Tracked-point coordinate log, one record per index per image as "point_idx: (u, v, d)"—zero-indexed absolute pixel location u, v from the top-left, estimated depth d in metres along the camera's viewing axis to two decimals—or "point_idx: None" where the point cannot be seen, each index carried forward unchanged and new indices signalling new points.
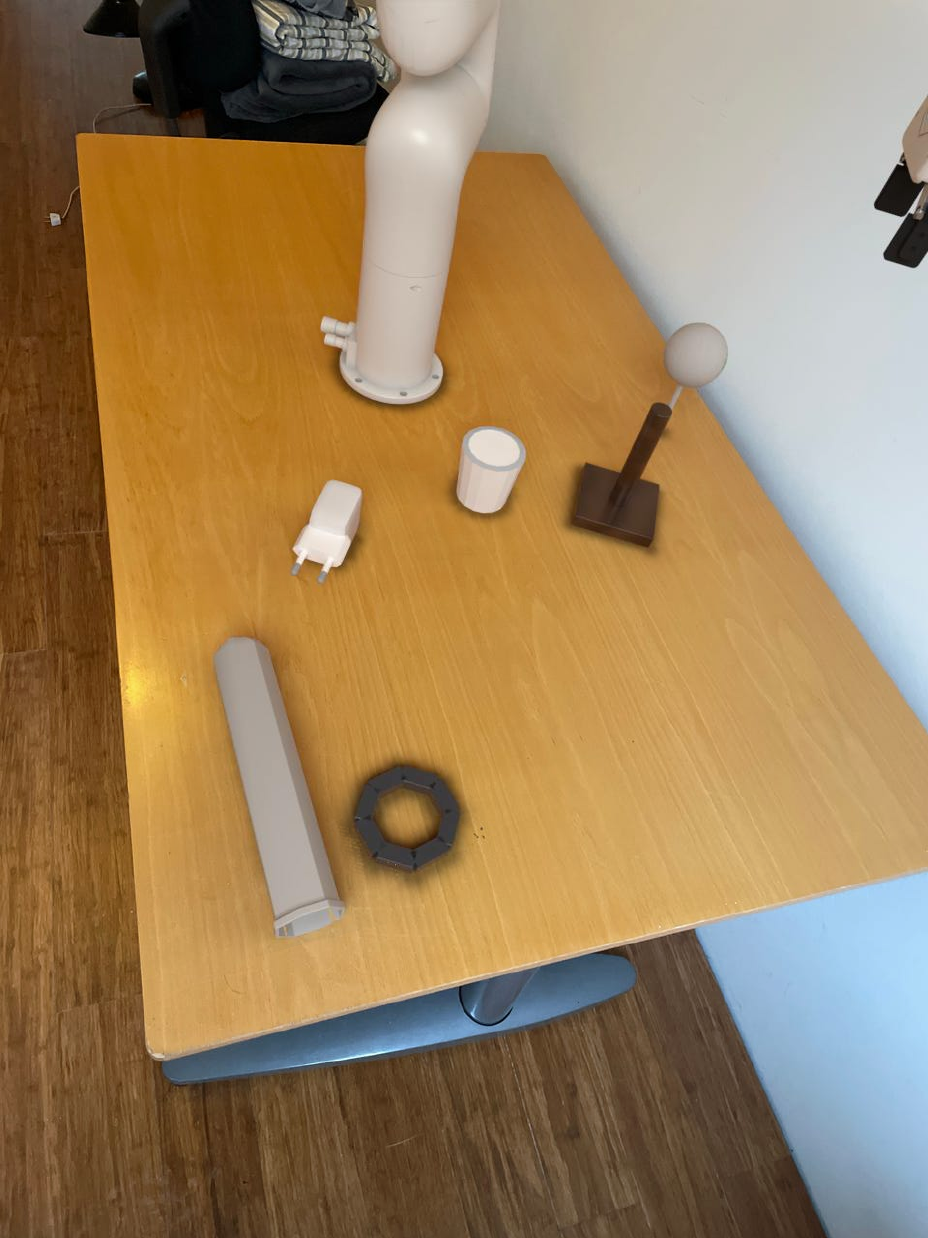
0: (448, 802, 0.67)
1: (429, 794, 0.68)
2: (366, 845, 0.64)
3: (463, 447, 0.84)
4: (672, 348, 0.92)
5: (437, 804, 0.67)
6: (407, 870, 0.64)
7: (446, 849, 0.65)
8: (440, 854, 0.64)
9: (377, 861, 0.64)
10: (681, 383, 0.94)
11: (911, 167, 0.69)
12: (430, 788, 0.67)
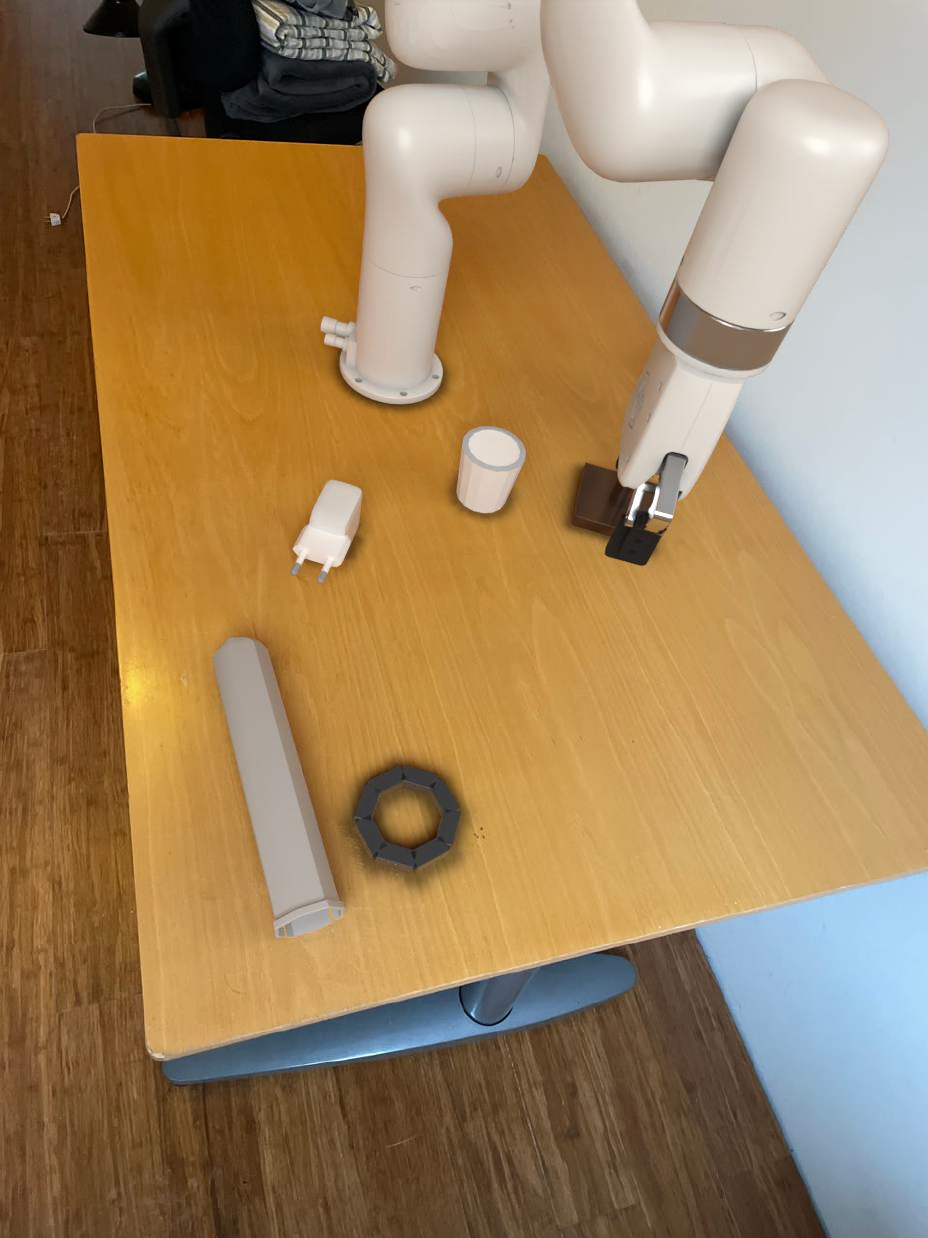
0: (448, 802, 0.67)
1: (429, 794, 0.68)
2: (366, 845, 0.64)
3: (463, 447, 0.84)
4: None
5: (437, 804, 0.67)
6: (407, 870, 0.64)
7: (446, 849, 0.65)
8: (440, 854, 0.64)
9: (377, 861, 0.64)
10: None
11: (619, 463, 0.56)
12: (430, 788, 0.67)
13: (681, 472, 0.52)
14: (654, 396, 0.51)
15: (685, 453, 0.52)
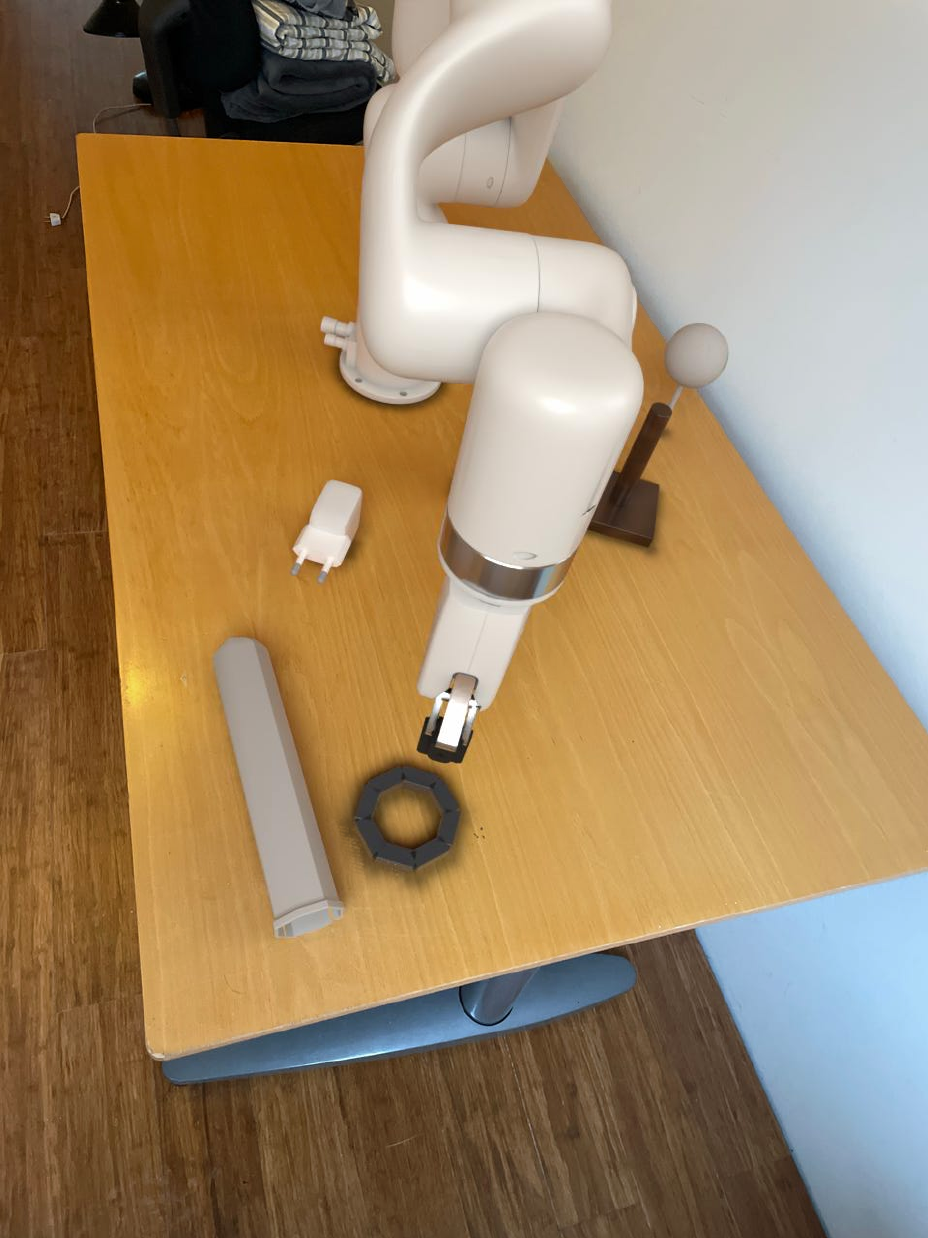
0: (448, 802, 0.67)
1: (429, 794, 0.68)
2: (366, 845, 0.64)
3: None
4: (673, 348, 0.92)
5: (437, 804, 0.67)
6: (407, 870, 0.64)
7: (446, 849, 0.65)
8: (440, 854, 0.64)
9: (377, 861, 0.64)
10: (681, 383, 0.94)
11: None
12: (430, 788, 0.67)
13: (470, 694, 0.47)
14: (436, 616, 0.46)
15: (473, 674, 0.47)
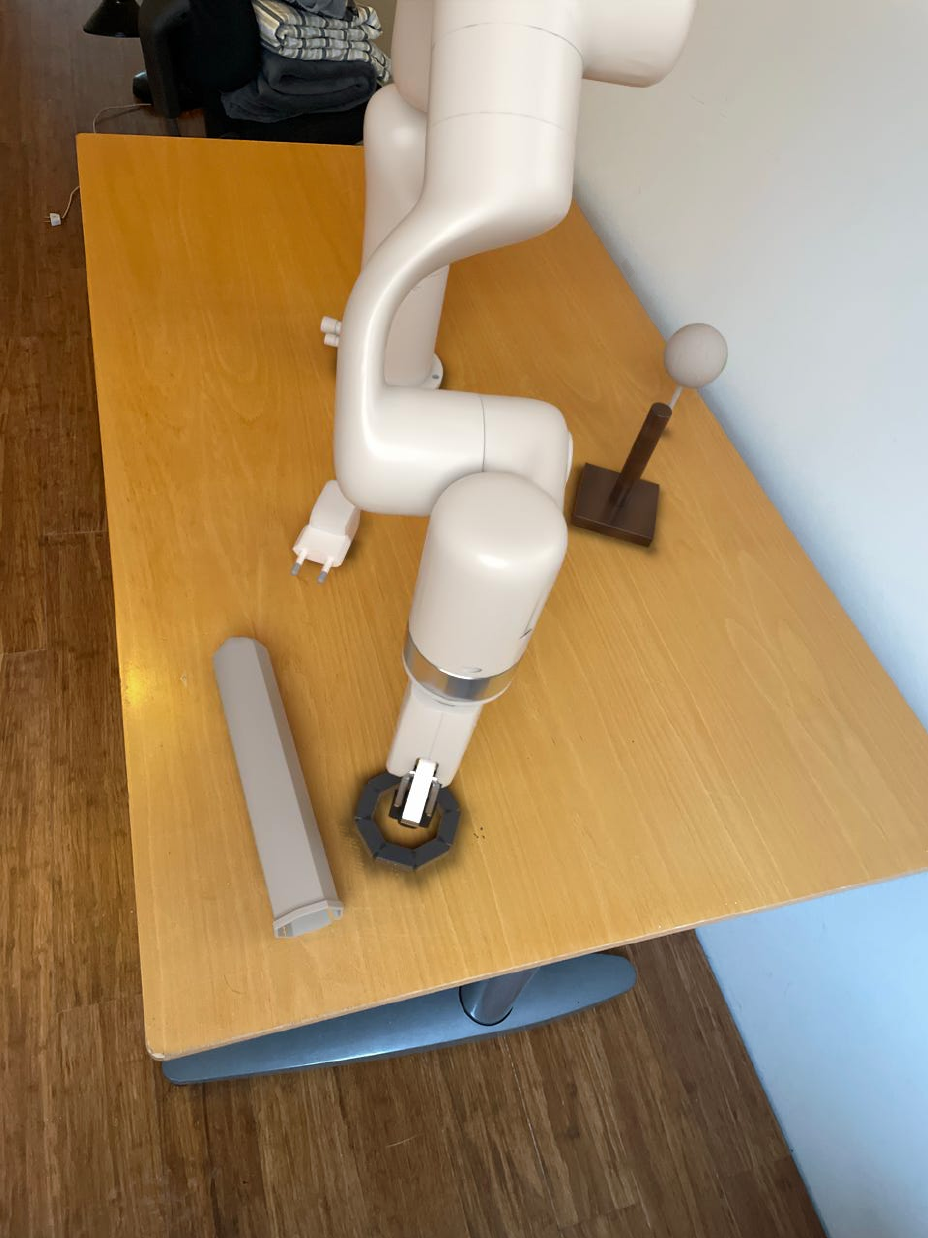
0: (448, 802, 0.67)
1: None
2: (366, 845, 0.64)
3: None
4: (672, 348, 0.92)
5: (437, 804, 0.67)
6: (407, 870, 0.64)
7: (446, 849, 0.65)
8: (440, 854, 0.64)
9: (377, 861, 0.64)
10: (681, 384, 0.94)
11: None
12: (430, 788, 0.67)
13: (431, 777, 0.54)
14: (401, 710, 0.53)
15: (434, 760, 0.54)
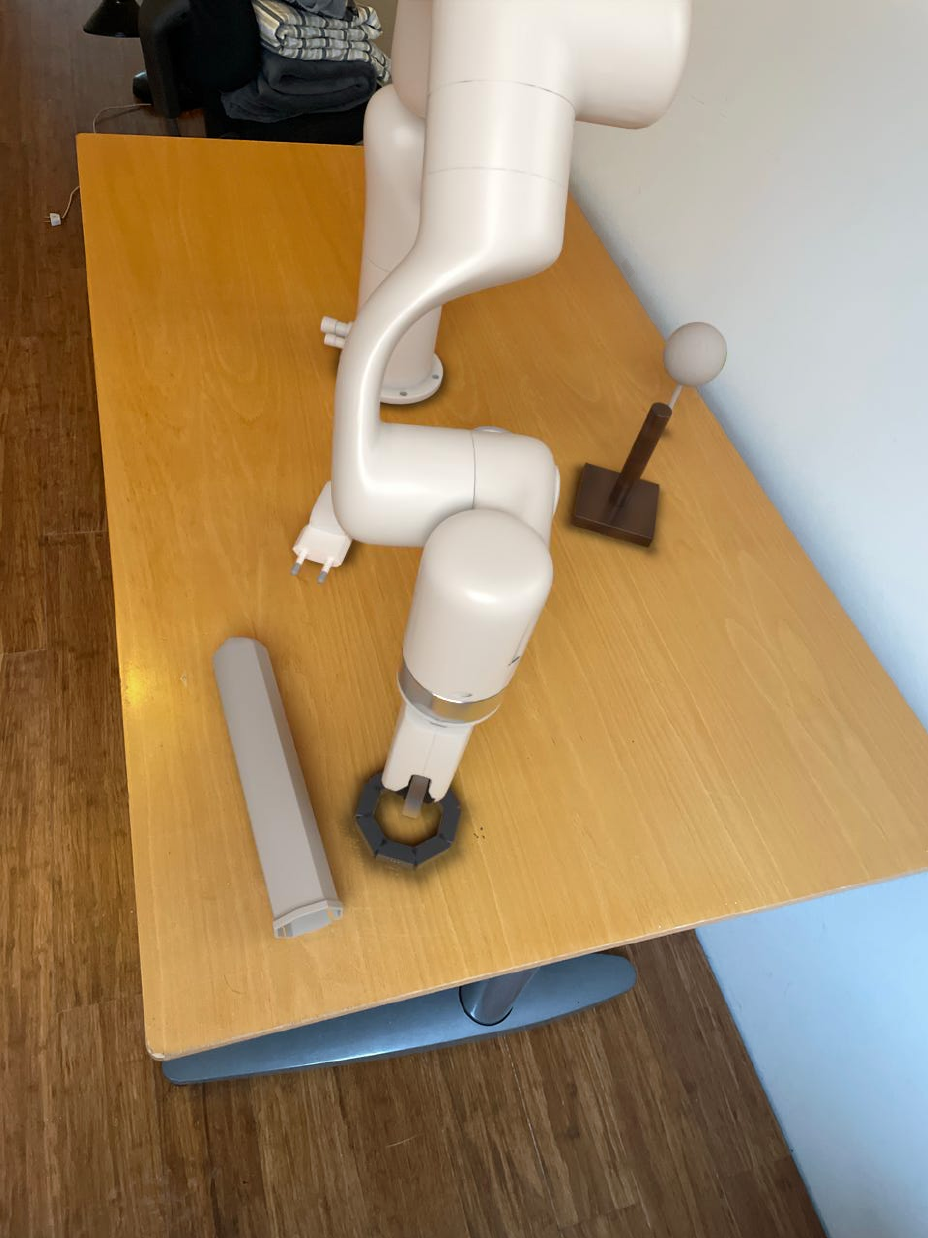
0: (449, 800, 0.67)
1: None
2: (367, 842, 0.64)
3: None
4: (671, 347, 0.92)
5: (438, 802, 0.67)
6: (408, 867, 0.64)
7: (447, 846, 0.65)
8: (441, 851, 0.64)
9: (378, 858, 0.64)
10: (680, 382, 0.94)
11: None
12: None
13: (424, 789, 0.58)
14: (395, 729, 0.55)
15: (427, 776, 0.56)
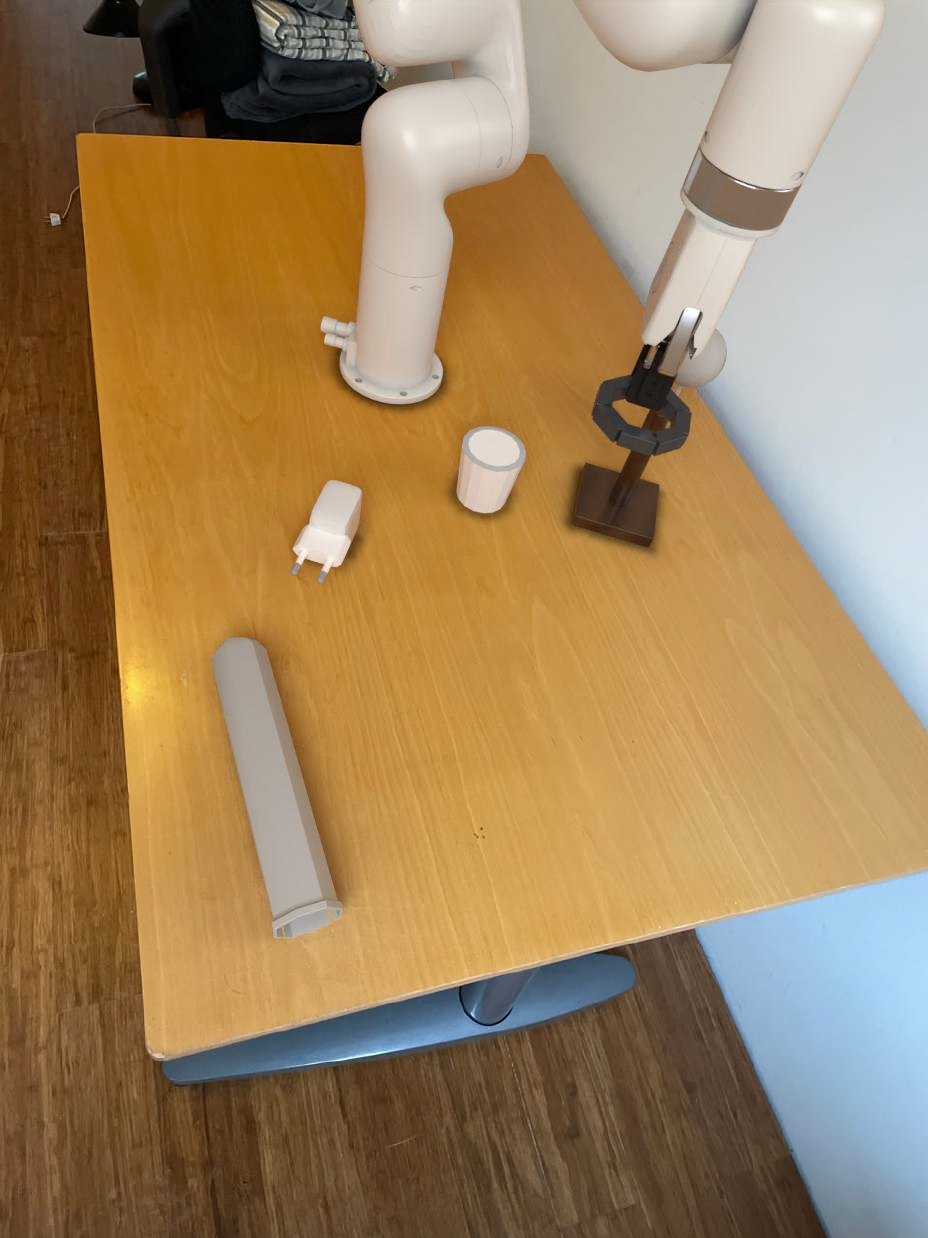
0: (679, 404, 0.70)
1: None
2: (609, 425, 0.67)
3: (463, 447, 0.84)
4: None
5: (668, 407, 0.70)
6: (648, 450, 0.67)
7: (683, 435, 0.68)
8: (678, 438, 0.67)
9: (620, 440, 0.67)
10: (680, 383, 0.94)
11: (642, 325, 0.64)
12: None
13: (689, 335, 0.61)
14: (676, 256, 0.58)
15: (700, 309, 0.59)
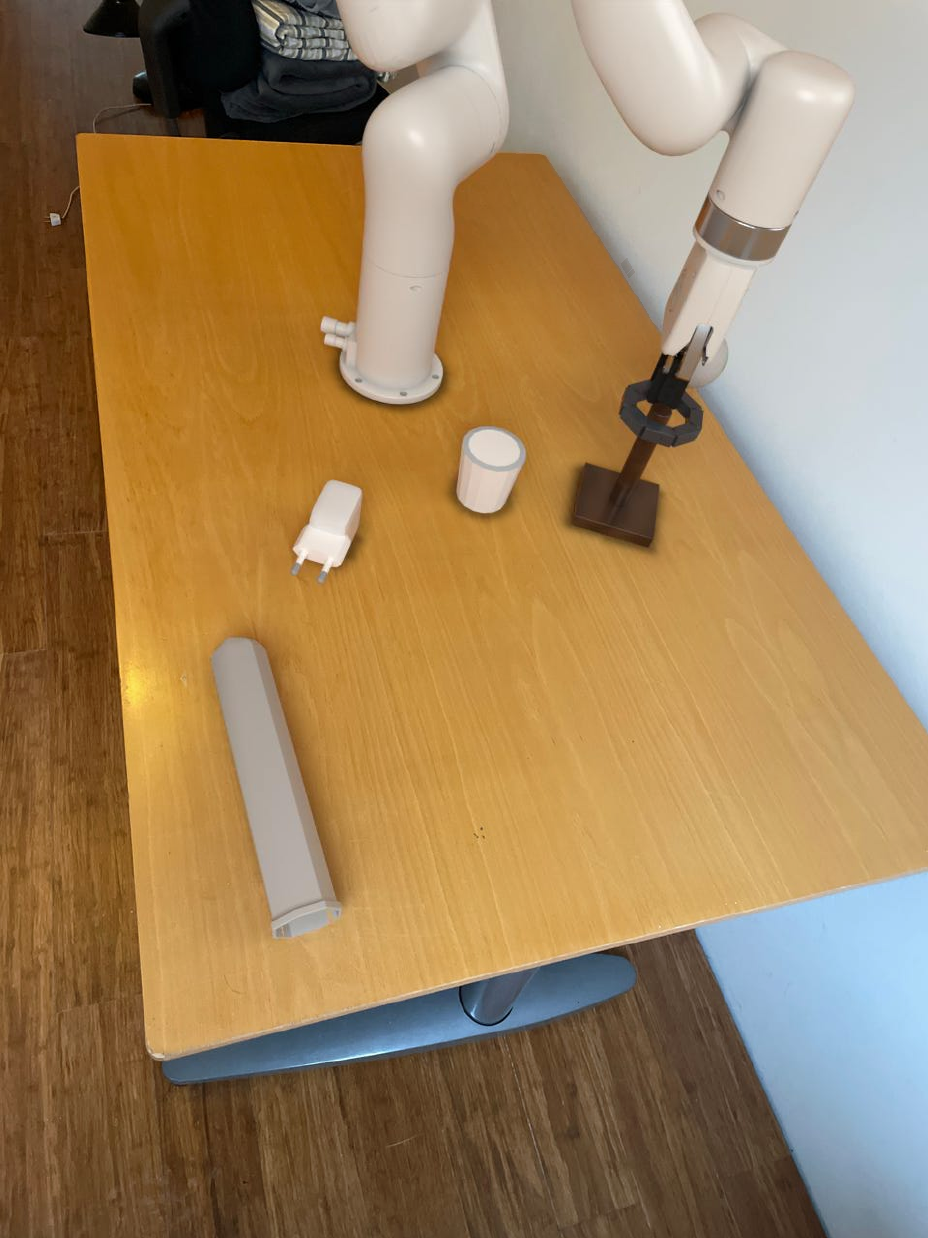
0: (692, 403, 0.83)
1: None
2: (635, 422, 0.80)
3: (463, 447, 0.84)
4: None
5: (683, 406, 0.83)
6: (668, 442, 0.80)
7: (697, 429, 0.80)
8: (693, 432, 0.80)
9: (644, 434, 0.80)
10: None
11: (662, 339, 0.77)
12: None
13: (702, 346, 0.74)
14: (690, 282, 0.71)
15: (711, 324, 0.72)
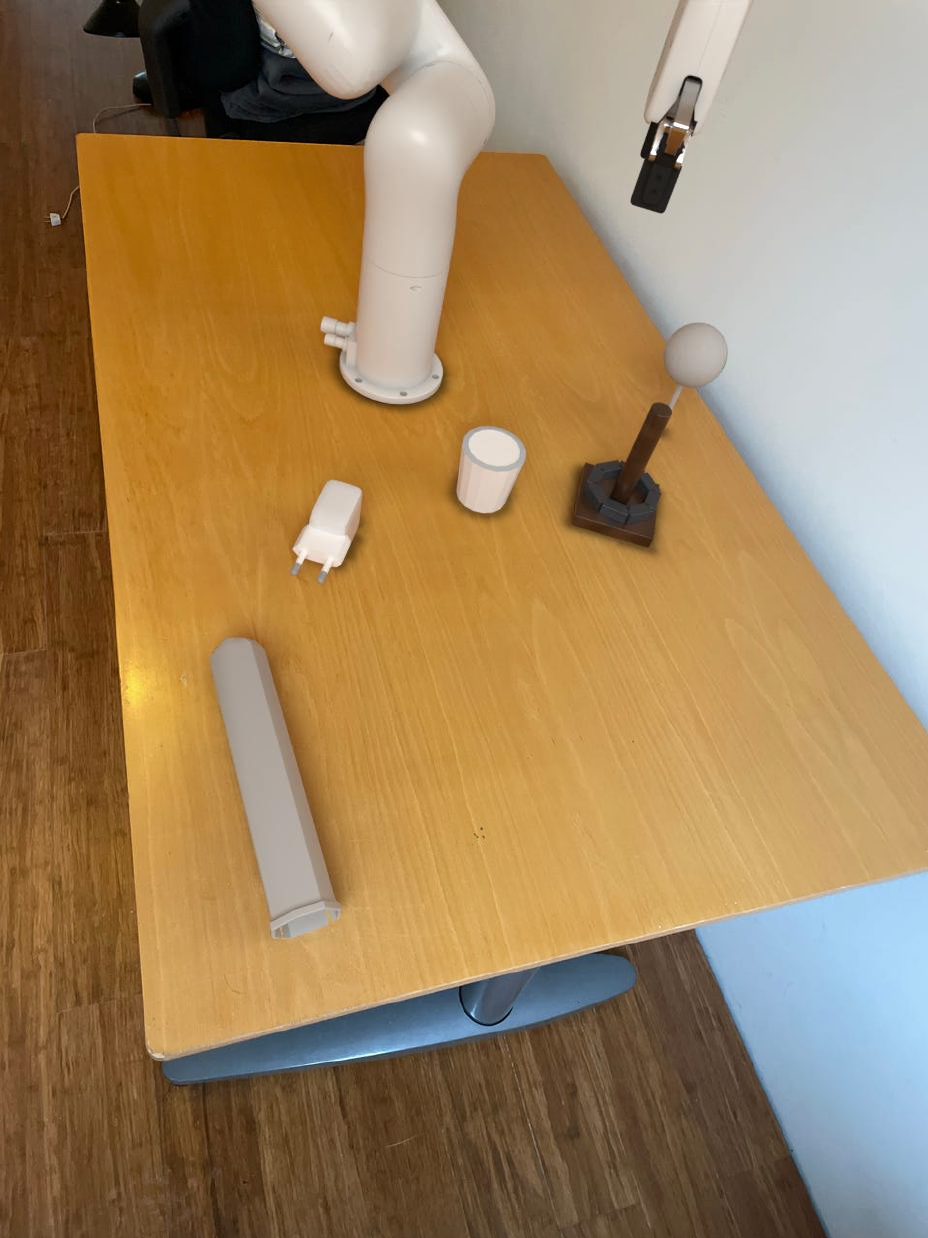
0: (652, 485, 0.92)
1: None
2: (594, 498, 0.90)
3: (463, 447, 0.84)
4: (672, 348, 0.92)
5: (643, 487, 0.92)
6: (622, 519, 0.89)
7: (650, 510, 0.90)
8: (646, 512, 0.89)
9: (601, 510, 0.89)
10: (681, 383, 0.94)
11: (645, 108, 0.68)
12: None
13: (696, 92, 0.64)
14: (676, 23, 0.62)
15: (700, 75, 0.63)
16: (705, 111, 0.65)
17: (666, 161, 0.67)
